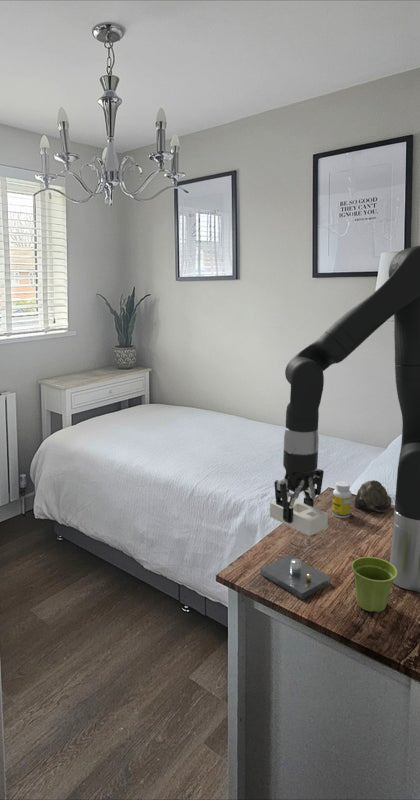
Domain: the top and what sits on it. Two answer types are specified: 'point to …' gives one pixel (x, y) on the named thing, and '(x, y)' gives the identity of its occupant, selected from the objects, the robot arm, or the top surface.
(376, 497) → the fossil
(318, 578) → the base plate
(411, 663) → the top surface
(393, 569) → the plant pot
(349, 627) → the top surface
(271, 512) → the white block with recesses
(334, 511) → the supplement bottle
